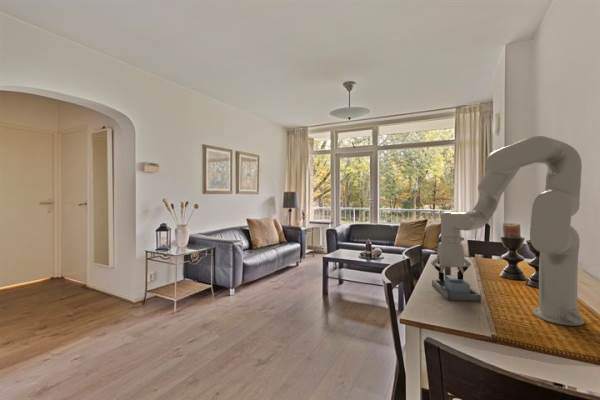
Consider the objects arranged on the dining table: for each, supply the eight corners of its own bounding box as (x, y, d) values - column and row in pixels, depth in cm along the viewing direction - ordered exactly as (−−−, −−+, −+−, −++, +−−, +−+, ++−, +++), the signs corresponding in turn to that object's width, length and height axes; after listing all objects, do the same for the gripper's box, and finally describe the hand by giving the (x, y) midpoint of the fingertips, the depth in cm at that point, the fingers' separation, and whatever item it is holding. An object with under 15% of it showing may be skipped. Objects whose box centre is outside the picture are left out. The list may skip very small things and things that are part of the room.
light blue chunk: (456, 286, 127) (456, 275, 127) (469, 297, 114) (469, 284, 114) (439, 286, 128) (439, 275, 128) (451, 296, 115) (451, 284, 115)
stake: (452, 282, 135) (451, 255, 135) (446, 282, 135) (446, 255, 135) (449, 280, 138) (449, 253, 138) (443, 280, 139) (443, 253, 138)
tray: (480, 301, 111) (480, 295, 111) (447, 300, 113) (447, 294, 113) (460, 286, 130) (460, 280, 130) (432, 285, 132) (432, 279, 132)
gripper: (468, 238, 128) (468, 279, 128) (426, 238, 130) (427, 278, 130) (476, 241, 120) (476, 284, 120) (432, 241, 122) (432, 283, 123)
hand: (450, 281), depth 125 cm, fingers open, 6 cm apart
